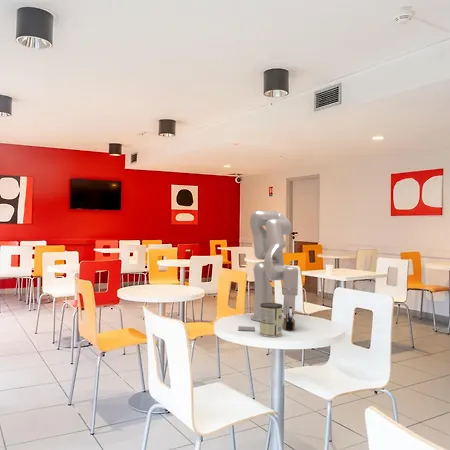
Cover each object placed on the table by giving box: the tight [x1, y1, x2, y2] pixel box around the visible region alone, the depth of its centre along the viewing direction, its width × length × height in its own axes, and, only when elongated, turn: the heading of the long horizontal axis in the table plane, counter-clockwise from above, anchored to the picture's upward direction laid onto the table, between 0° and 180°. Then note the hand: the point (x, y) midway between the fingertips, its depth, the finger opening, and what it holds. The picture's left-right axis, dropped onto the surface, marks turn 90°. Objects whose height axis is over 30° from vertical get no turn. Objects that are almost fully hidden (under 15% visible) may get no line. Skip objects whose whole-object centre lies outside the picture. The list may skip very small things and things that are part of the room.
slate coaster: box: [238, 325, 256, 332], centre depth 218 cm, size 8×8×1 cm
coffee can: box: [259, 302, 283, 338], centre depth 208 cm, size 10×10×14 cm
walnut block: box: [282, 317, 296, 331], centre depth 222 cm, size 5×5×5 cm
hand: (288, 328), depth 222 cm, fingers closed on walnut block, 5 cm apart
